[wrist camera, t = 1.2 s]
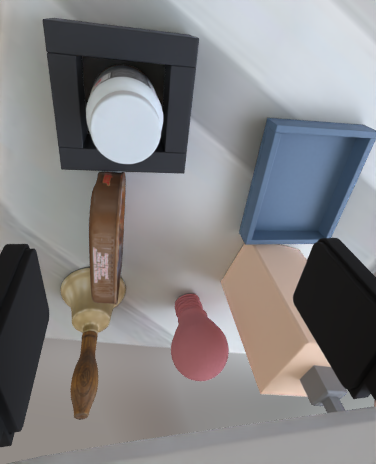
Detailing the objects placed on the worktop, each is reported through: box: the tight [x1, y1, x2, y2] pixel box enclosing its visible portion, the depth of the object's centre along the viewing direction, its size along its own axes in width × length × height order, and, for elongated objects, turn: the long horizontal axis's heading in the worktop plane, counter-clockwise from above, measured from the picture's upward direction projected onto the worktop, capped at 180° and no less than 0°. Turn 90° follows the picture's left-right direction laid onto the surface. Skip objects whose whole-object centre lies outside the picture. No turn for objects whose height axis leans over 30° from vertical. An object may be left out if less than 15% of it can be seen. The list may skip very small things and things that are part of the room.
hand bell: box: [61, 268, 126, 420], centre depth 35 cm, size 8×8×16 cm
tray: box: [239, 118, 376, 245], centre depth 36 cm, size 14×11×3 cm
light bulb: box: [171, 294, 228, 381], centre depth 41 cm, size 7×7×12 cm
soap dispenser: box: [221, 243, 347, 413], centre depth 36 cm, size 13×9×22 cm
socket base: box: [43, 18, 199, 173], centre depth 27 cm, size 11×11×4 cm
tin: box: [89, 171, 125, 305], centre depth 32 cm, size 15×3×8 cm, turn 171°
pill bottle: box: [86, 64, 163, 164], centre depth 25 cm, size 6×6×10 cm
